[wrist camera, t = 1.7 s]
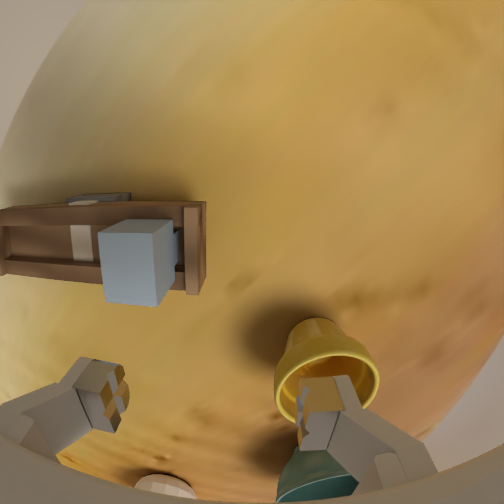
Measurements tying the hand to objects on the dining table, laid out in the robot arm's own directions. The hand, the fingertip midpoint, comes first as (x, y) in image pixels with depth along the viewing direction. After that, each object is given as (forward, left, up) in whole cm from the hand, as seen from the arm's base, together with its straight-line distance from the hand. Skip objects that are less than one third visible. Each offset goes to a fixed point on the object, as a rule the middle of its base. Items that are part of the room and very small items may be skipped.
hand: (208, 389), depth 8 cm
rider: (0, -7, -17) cm, 18 cm away
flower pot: (+36, +14, -24) cm, 45 cm away
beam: (0, -15, -23) cm, 28 cm away
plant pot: (+13, +9, -24) cm, 28 cm away
